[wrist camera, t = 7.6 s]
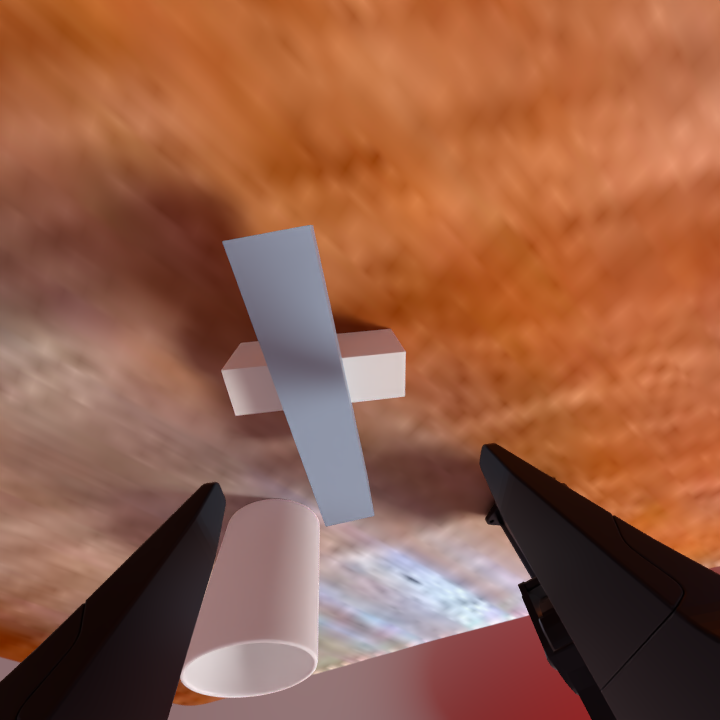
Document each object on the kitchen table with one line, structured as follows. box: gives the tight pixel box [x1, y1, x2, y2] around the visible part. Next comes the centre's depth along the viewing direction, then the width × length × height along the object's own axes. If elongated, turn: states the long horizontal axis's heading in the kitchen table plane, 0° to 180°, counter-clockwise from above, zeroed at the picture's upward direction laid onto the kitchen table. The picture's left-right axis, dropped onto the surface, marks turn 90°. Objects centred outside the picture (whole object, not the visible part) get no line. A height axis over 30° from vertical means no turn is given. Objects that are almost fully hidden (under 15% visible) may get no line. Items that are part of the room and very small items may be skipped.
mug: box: [180, 499, 320, 698], centre depth 23 cm, size 9×12×11 cm
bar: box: [222, 225, 374, 526], centre depth 14 cm, size 16×3×3 cm, turn 9°
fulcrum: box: [221, 329, 406, 416], centre depth 18 cm, size 11×12×5 cm
